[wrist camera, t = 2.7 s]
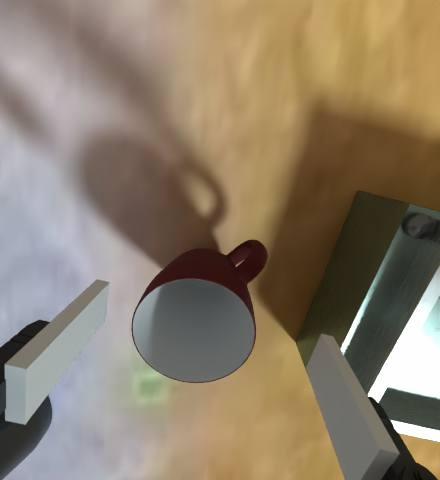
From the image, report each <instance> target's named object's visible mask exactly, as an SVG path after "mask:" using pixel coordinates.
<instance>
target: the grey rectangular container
mask: <svg viewBox="0 0 440 480" xmlns="http://www.w3.org/2000/svg"><path fill="white" fill-rule="evenodd" d="M321 334H325V335H329V336H333V337H334V339H335V341H336V342H337V344H338V346H339V348H340V349H341V351H342V353H343V355H344V356H345V358H346V360H347V362H348V363H349V365H350V367H351V369H352V370H353V372H354V374H355V376H356V377H357V379H358V381H359V383H360V384H361V386H362V388H363V390H364V392H365V393H366V395H367V396H371V397H373V398H374V399H375V400H376V401H377V402H378V403H379V404H380V405H381V406H382V407H383V409H384V411H385V412H386V414H387V416H388V417H389V420H391V422H392V424H393V425H394V429H396V430H397V432H398V433H403V434H408V435H412V436H417V437H421V438H426V439H431V440H435V441H440V212H439V211H435V210H431V209H428V208H424V207H420V206H416V205H413V204H409V203H405V202H401V201H397V200H393V199H389V198H385V197H381V196H377V195H373V194H369V193H365V192H362V191H358V192H357V195H356V197H355V200H354V202H353V204H352V207H351V209H350V212H349V214H348V217H347V219H346V222H345V224H344V226H343V229H342V231H341V234H340V236H339V239H338V241H337V243H336V246H335V248H334V251H333V253H332V256H331V258H330V260H329V263H328V265H327V268H326V270H325V273H324V275H323V278H322V280H321V282H320V285H319V287H318V290H317V292H316V295H315V297H314V299H313V302H312V304H311V307H310V309H309V312H308V314H307V317H306V319H305V321H304V324H303V326H302V329H301V331H300V334H299V336H298V338H297V341H296V345H297V348H298V350H299V353H300V356H301V358H302V361H303V364H304V366H305V369H306V367H307V364H308V362H309V360H310V358H311V355H312V353H313V351H314V349H315V347H316V344H317V342H318V340H319V338H320V335H321ZM307 374H308V373H307ZM308 377H309V376H308Z"/></svg>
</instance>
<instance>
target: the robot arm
mask: <svg viewBox="0 0 440 480" xmlns="http://www.w3.org/2000/svg"><path fill="white" fill-rule="evenodd" d="M109 284H110V282H106V281H102V280H98V279H97V280H96V281H95V282H93V283H92V284H91V285H90V286H89V287H88V288H87V289H86V290H85V291H84V292H83V293H82V294H80V295H79V296H78V297H77V298H76V299H75V300H74V301H73V302H72V303H71V304H70V305H68V306H67V307H66V308H65V309H64V310H63V311H62V312H61V313H60V314H59V315H58V316H57V317H55V318H54V319H53V320H52V321H51V322H47V321H43V320H38V321H36V322H33V323H31V324H29V325H27V326H26V327H25V328H23V329H22V330H21V331H20V332H19V333H18V334H17V335H15V336H14V337H13V338H11V339H10V341H8V342H7V343H5V344H4V345H3V346H2V347H1V348H0V480H2V479H4V478H5V477H6V476H7V475H8V474H9V473H10V472H11V471H12V470H13V469H14V468H15V467H16V466H18V465H19V464H20V463H21V462H22V461H23V460H24V459H25V458H26V457H27V456H28V455H29V454H30V453H31V452H32V451H33V450H34V449H35V448H36V446H37V445H38V443H39V442H40V440H41V439H42V437H43V436H44V434H45V433H46V431H47V430H48V428H49V426H50V423H51V420H52V408H51V403H50V400H49V398H48V396H47V395H48V394H49V393H50V392H51V390H52V389H53V388H54V386H55V385H56V384H57V382H58V381H59V380H60V378H61V377H62V376H63V375H64V373H65V372H66V371H67V369H68V368H69V367H70V365H71V364H72V363H73V361H74V360H75V359H76V358H77V356H78V355H79V354H80V352H81V351H82V350H83V348H84V347H85V346H86V344H87V343H88V342H89V341H90V339H91V338H92V337H93V335H94V334H95V333H96V331H97V330H98V329H99V327H100V326H101V325H102V324H103V322H104V321H105V314H106V306H107V299H108V291H109ZM306 371H307V373H308V376H309V379H310V382H311V385H312V388H313V390H314V393H315V396H316V399H317V402H318V404H319V407H320V410H321V413H322V416H323V419H324V421H325V424H326V427H327V430H328V433H329V436H330V438H331V441H332V444H333V447H334V450H335V452H336V455H337V458H338V461H339V464H340V467H341V469H342V472H343V475H344V478H345V480H438V479H437V478H436V477H435V476H434V475H433V474H432V473H431V472H430V471H429V470H428V469H427V468H425V467H423V466H422V465H420V464H419V463H416V462H415V460H414V459H413V457H412V455H411V454H410V452H409V450H408V449H407V447H406V445H405V444H404V442H403V440H402V439H401V437H400V435H399V434H398V432H397V430H396V429H394V425H393V424H392V422H391V420H389V417H388V416H387V414H386V412H385V411H384V409H383V407H382V406H381V405H380V404H379V403H378V402H377V401H376V400H375V399H374V398H373V397H371V396H367V395H366V393H365V392H364V390H363V388H362V386H361V384H360V383H359V381H358V379H357V377H356V376H355V374H354V372H353V370H352V369H351V367H350V365H349V363H348V362H347V360H346V358H345V356H344V355H343V353H342V351H341V349H340V348H339V346H338V344H337V342H336V341H335V339H334V337H333V336H329V335H325V334H321V335H320V338H319V340H318V342H317V344H316V347H315V349H314V351H313V353H312V355H311V358H310V360H309V362H308V364H307V367H306Z"/></svg>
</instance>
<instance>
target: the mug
mask: <svg viewBox="0 0 440 480" xmlns="http://www.w3.org/2000/svg"><path fill="white" fill-rule="evenodd" d="M267 257H268V253H267V250H266V248H265V247H264V245H263V244H262V243H261V242H259V241H257V240H248V241H246V242H244V243H242V244H240V245H239V246H238V247H236V248H235V249H234V250H233V251H231V252H230V253H229V254H228V255H224V254H221V253H219V252H217V251H214V250H210V249H194V250H191V251H188V252H185V253H183V254H182V255H180V256H179V257H178V258H176V259H175V260H174V261H173V262H171V263H170V264H169V265H168V266H167V267H166V268H164V269H163V270H162V271H161V272H160V273H159V274H158V275H157V276H156V277H155V278H154V279H153V280H152V282H151V283H150V284H149V286H148V287H147V289H146V290H145V292H144V294H143V296H142V298H141V299H140V301H139V303H138V305H137V307H136V309H135V312H134V315H133V319H132V337H133V341H134V344H135V346H136V348H137V350H138V352H139V354H140V355H141V357H142V358H143V359H144V360H145V361H146V363H147V364H149V365H150V366H151V367H152V368H153V369H155V370H156V371H157V372H159V373H161V374H163V375H164V376H167V377H169V378H172V379H174V380H178V381H182V382H189V383H204V382H210V381H215V380H218V379H221V378H224V377H226V376H228V375H230V374H231V373H233V372H234V371H236V370H237V369H238V368H240V367H241V366H242V365H243V364H244V362H245V361H246V360H247V359H248V357H249V355H250V354H251V352H252V349H253V347H254V344H255V338H256V325H255V317H254V311H253V305H252V301H251V297H250V294H249V291H248V288H247V284H248V283H249V282H250V281H252V280H253V279H254V278H255V277H256V276H257V275H258V274H259V273H260V272H261V271H262V269H263V268H264V266H265V264H266V261H267ZM243 260H244V261H243ZM241 261H243V262H242V263H241V264H240V265H238V266H237V267H236V266H235V265H236V264H238V263H239V262H241Z"/></svg>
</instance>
